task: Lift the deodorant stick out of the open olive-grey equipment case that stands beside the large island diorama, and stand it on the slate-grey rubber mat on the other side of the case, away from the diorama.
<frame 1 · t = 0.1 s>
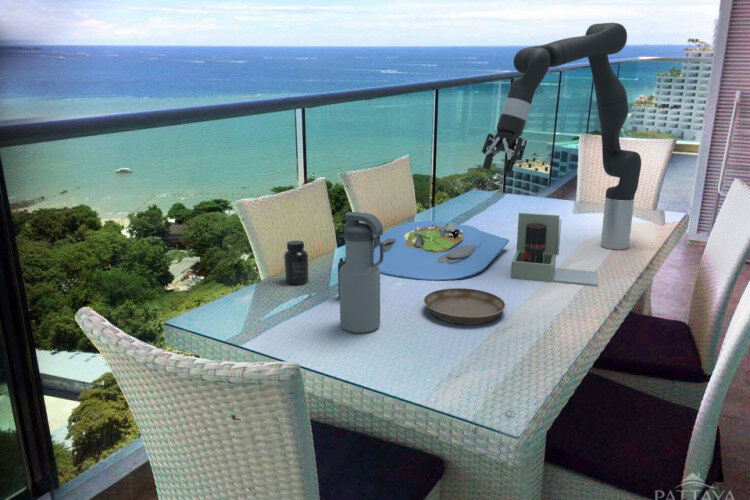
hand: (495, 171, 184), 31 cm above the table, tool tilted 20°, fingers open, 8 cm apart
case: (533, 273, 193), on the table
deodorant: (533, 274, 193), resting in case
supplement bottle: (297, 282, 186), on the table
water bottle: (361, 327, 155), on the table
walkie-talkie: (347, 298, 173), on the table
plant saucer: (463, 313, 164), on the table
island diorama: (428, 259, 209), on the table
mat: (576, 277, 189), on the table
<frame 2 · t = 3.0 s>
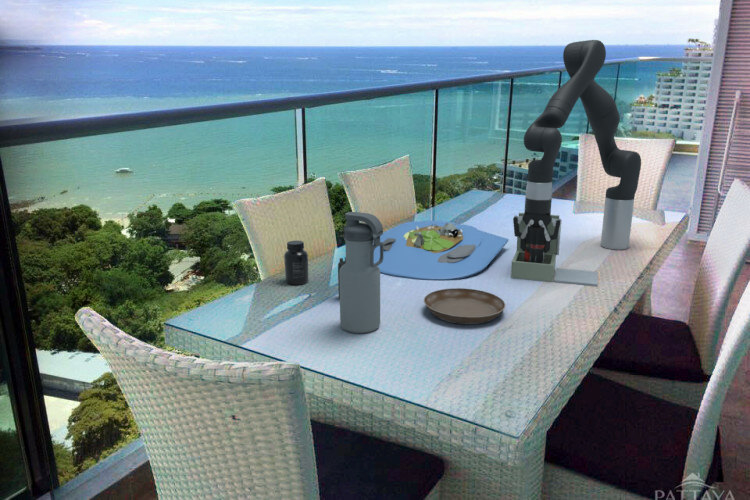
hand: (534, 251, 191), 7 cm above the table, tool pointing down, fingers closed on deodorant, 6 cm apart
deodorant: (533, 274, 193), resting in case, touching gripper
everything else where it was.
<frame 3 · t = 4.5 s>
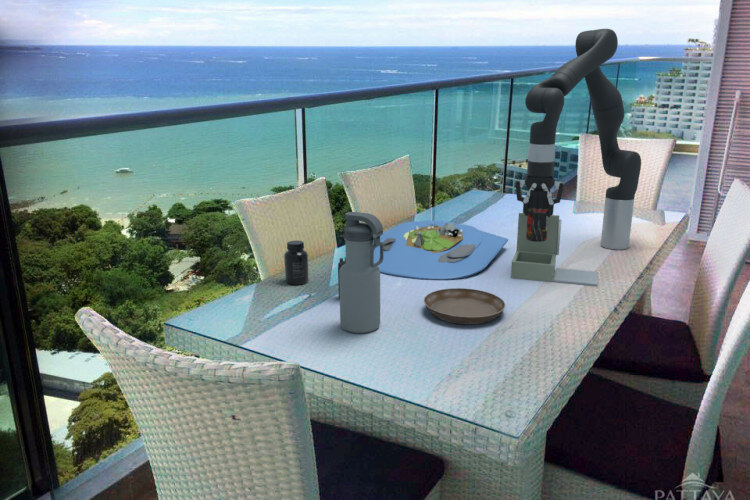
hand: (537, 215, 188), 18 cm above the table, tool pointing down, fingers closed on deodorant, 6 cm apart
deodorant: (536, 239, 190), point 11 cm above the table, touching gripper
everything else where it was.
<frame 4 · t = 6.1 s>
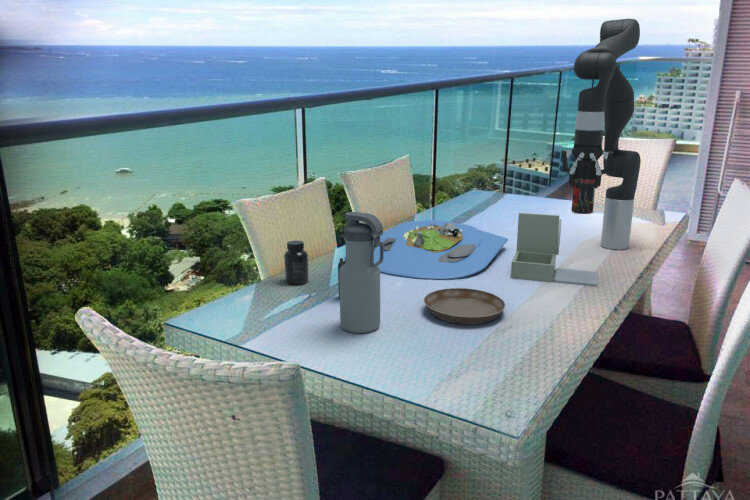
hand: (584, 187, 181), 27 cm above the table, tool pointing down, fingers closed on deodorant, 6 cm apart
deodorant: (582, 212, 183), point 20 cm above the table, touching gripper
everything else where it was.
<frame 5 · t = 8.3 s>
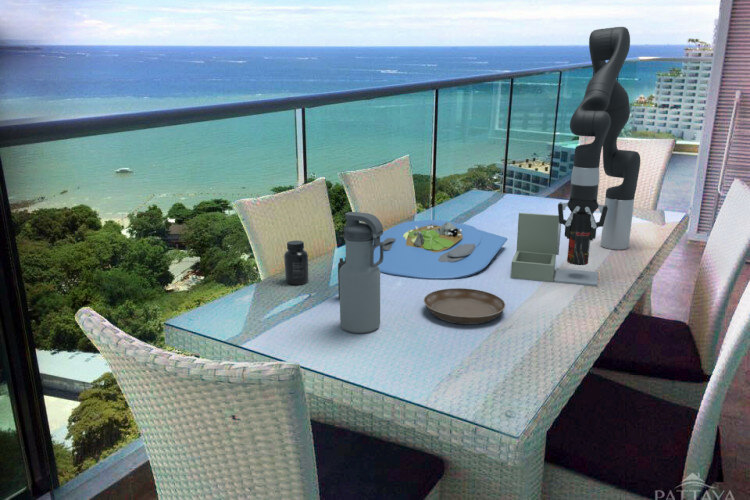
hand: (579, 238, 186), 12 cm above the table, tool pointing down, fingers closed on deodorant, 6 cm apart
deodorant: (577, 262, 188), point 5 cm above the table, touching gripper
when the fingers open (9 cm above the table, at t = 9.5 s): deodorant drops 1 cm, resting on mat.
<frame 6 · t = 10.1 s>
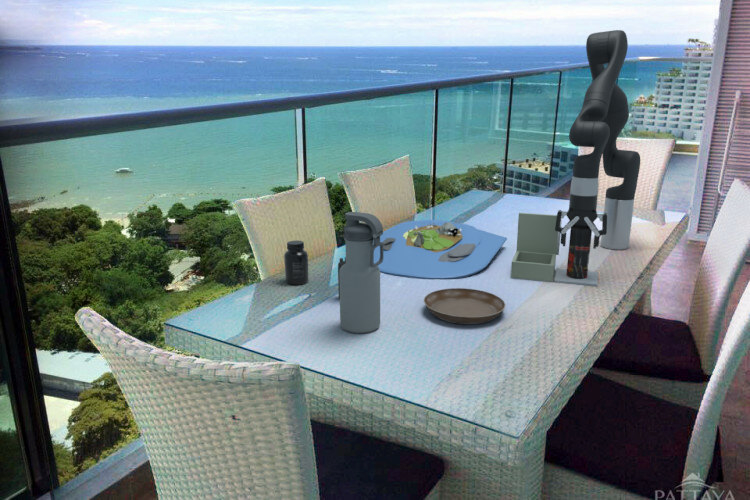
hand: (579, 246, 186), 10 cm above the table, tool pointing down, fingers open, 8 cm apart
deodorant: (576, 276, 189), resting on mat
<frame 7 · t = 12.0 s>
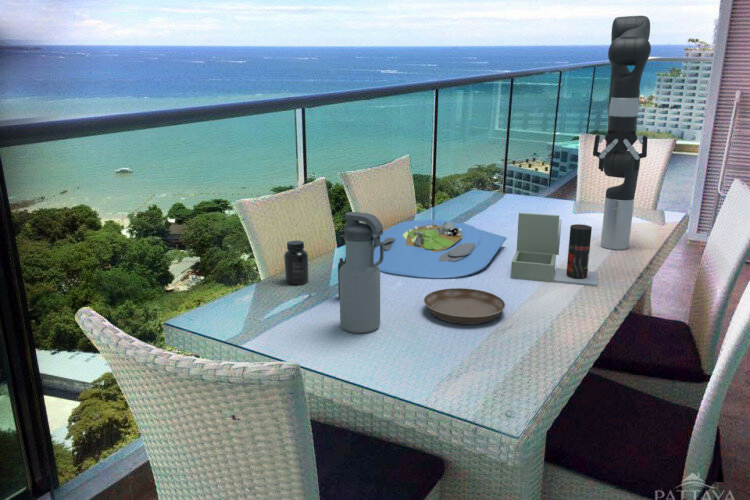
hand: (617, 171, 182), 31 cm above the table, tool pointing down, fingers open, 8 cm apart
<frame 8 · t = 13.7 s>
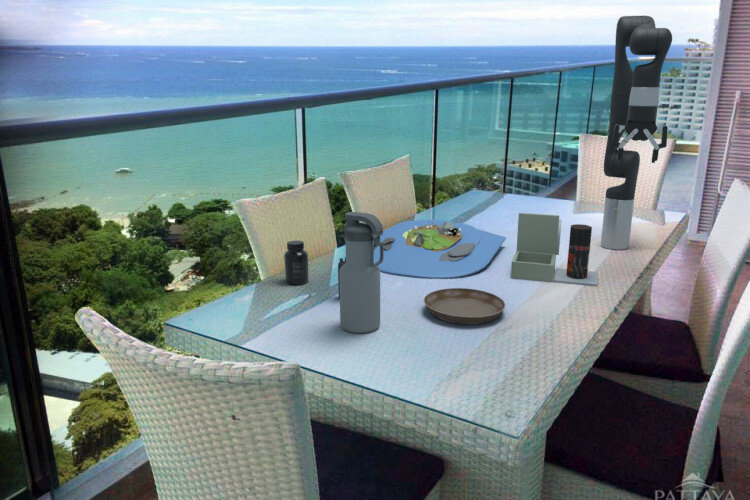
hand: (636, 162, 181), 34 cm above the table, tool pointing down, fingers open, 8 cm apart
at the end: deodorant inside the target area on the mat (0.1 cm from its centre), point 0.4 cm above the mat's base; deodorant tilted 0°; deodorant touching mat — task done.
